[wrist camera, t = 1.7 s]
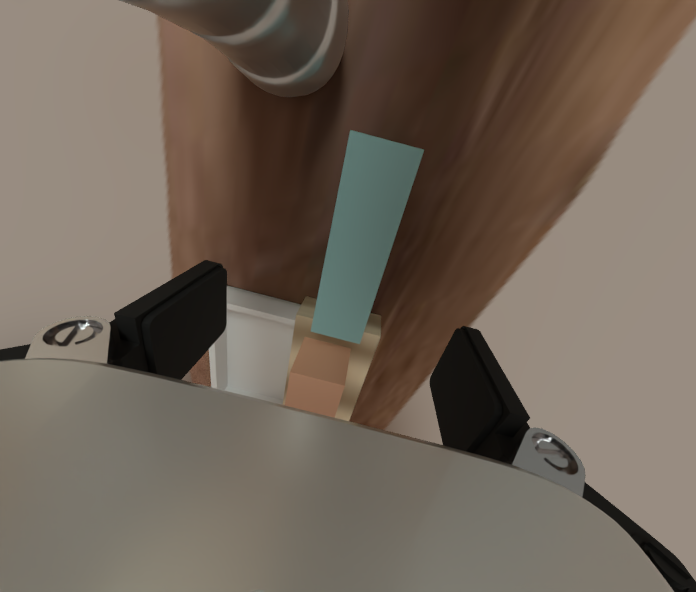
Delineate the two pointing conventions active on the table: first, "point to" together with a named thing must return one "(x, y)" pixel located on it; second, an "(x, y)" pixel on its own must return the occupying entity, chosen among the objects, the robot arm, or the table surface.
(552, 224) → the table surface
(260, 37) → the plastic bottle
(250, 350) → the tray
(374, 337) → the beige gold flat block
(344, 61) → the table surface
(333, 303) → the bar
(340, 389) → the tan cube
